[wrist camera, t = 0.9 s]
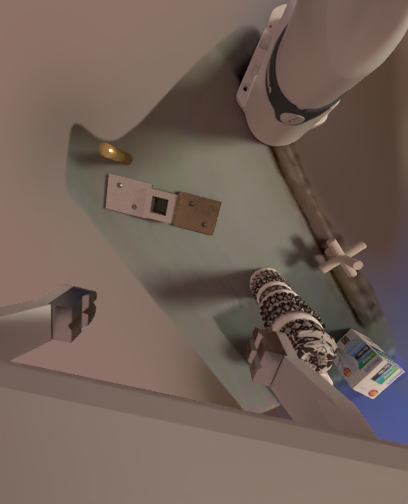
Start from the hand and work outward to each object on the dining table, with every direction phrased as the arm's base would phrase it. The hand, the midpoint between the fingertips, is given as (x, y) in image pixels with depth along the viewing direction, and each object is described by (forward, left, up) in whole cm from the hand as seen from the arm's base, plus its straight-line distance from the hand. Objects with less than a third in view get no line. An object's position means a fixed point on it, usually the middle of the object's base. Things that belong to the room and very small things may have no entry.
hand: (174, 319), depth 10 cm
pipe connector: (0, +32, -38) cm, 50 cm away
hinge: (-1, -10, -38) cm, 40 cm away
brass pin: (-9, -20, -38) cm, 44 cm away
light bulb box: (+25, +49, -39) cm, 67 cm away
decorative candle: (+12, +20, -38) cm, 45 cm away
